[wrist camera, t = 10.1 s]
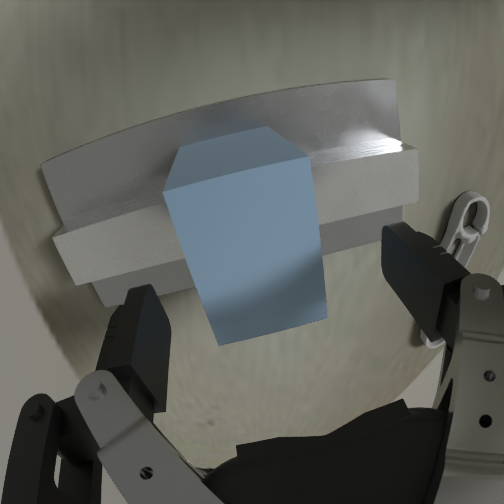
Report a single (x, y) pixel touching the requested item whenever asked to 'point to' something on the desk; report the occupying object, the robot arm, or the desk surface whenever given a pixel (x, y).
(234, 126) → the din rail
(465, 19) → the desk surface
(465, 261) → the bracket
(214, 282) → the block
